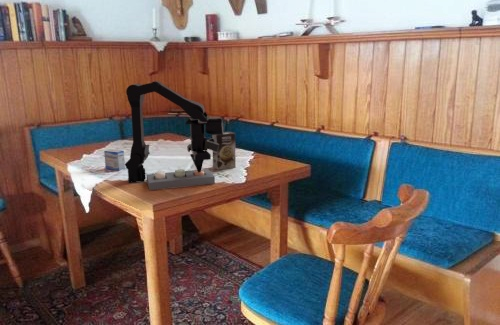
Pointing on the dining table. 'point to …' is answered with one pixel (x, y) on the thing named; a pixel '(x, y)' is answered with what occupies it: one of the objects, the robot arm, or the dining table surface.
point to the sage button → (179, 173)
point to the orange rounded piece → (199, 173)
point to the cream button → (159, 175)
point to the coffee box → (224, 151)
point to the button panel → (180, 180)
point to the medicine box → (114, 159)
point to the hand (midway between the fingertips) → (199, 171)
